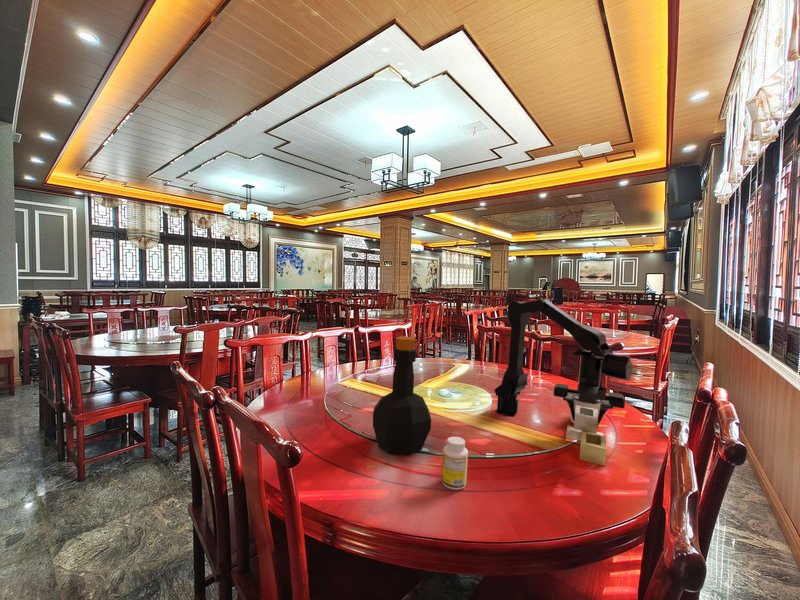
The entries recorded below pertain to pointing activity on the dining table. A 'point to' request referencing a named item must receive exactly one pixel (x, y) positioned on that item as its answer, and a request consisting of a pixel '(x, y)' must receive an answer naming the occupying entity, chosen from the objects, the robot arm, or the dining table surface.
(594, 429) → the link
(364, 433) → the dining table surface
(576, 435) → the keeper
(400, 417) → the bottle
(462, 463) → the supplement bottle
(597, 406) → the teacup with lid
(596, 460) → the link
